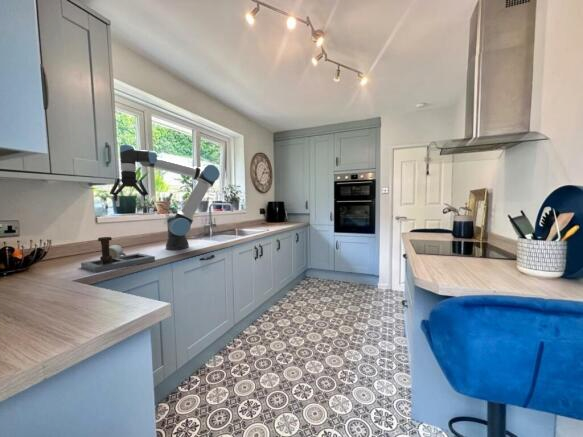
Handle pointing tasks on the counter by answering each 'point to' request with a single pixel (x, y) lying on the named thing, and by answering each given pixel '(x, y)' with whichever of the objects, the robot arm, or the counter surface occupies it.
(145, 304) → the counter surface
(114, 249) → the ceramic mug
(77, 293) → the counter surface
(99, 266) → the hole plate
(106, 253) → the bolt
